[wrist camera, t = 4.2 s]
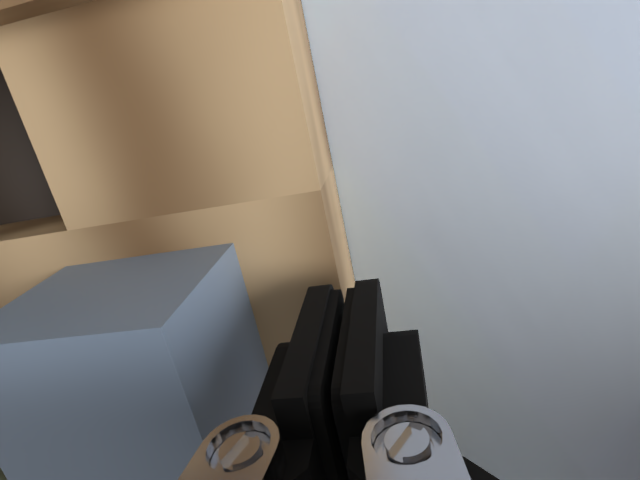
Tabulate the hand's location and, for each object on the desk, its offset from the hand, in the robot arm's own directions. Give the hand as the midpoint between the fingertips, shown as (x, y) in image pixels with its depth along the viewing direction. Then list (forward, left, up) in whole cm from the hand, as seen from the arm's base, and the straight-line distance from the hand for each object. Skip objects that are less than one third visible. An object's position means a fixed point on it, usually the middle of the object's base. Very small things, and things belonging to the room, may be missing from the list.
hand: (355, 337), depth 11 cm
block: (+5, 0, -1) cm, 5 cm away
